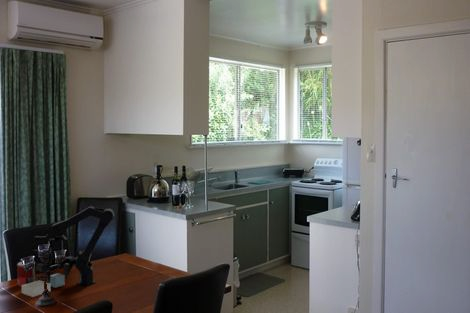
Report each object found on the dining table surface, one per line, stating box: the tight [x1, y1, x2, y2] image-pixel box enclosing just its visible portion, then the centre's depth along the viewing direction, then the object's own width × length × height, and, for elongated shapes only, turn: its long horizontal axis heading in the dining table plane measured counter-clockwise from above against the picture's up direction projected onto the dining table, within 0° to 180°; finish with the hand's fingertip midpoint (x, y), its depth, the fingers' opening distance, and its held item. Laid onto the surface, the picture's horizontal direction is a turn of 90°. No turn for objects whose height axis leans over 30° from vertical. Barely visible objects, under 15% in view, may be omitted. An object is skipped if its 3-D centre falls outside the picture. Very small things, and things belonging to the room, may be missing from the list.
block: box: [50, 273, 66, 288], centre depth 225 cm, size 5×5×5 cm
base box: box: [21, 279, 52, 298], centre depth 215 cm, size 9×9×4 cm
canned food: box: [16, 261, 36, 288], centre depth 225 cm, size 8×8×11 cm
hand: (57, 281), depth 225 cm, fingers open, 9 cm apart
